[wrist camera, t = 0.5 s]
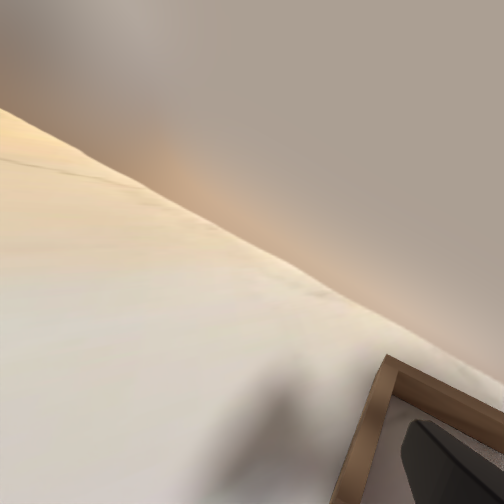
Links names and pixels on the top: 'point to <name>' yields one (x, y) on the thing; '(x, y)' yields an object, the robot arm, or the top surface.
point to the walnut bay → (426, 399)
